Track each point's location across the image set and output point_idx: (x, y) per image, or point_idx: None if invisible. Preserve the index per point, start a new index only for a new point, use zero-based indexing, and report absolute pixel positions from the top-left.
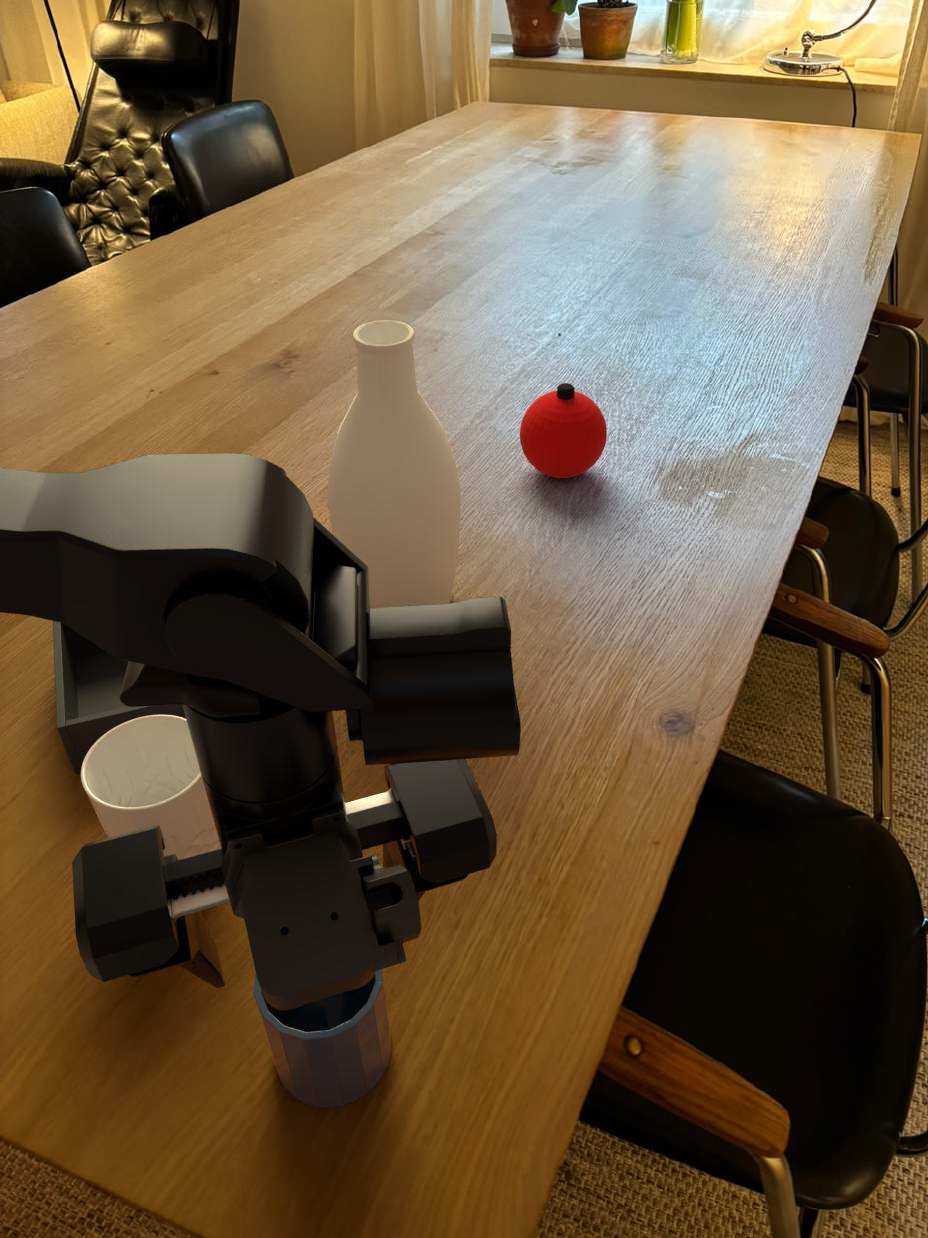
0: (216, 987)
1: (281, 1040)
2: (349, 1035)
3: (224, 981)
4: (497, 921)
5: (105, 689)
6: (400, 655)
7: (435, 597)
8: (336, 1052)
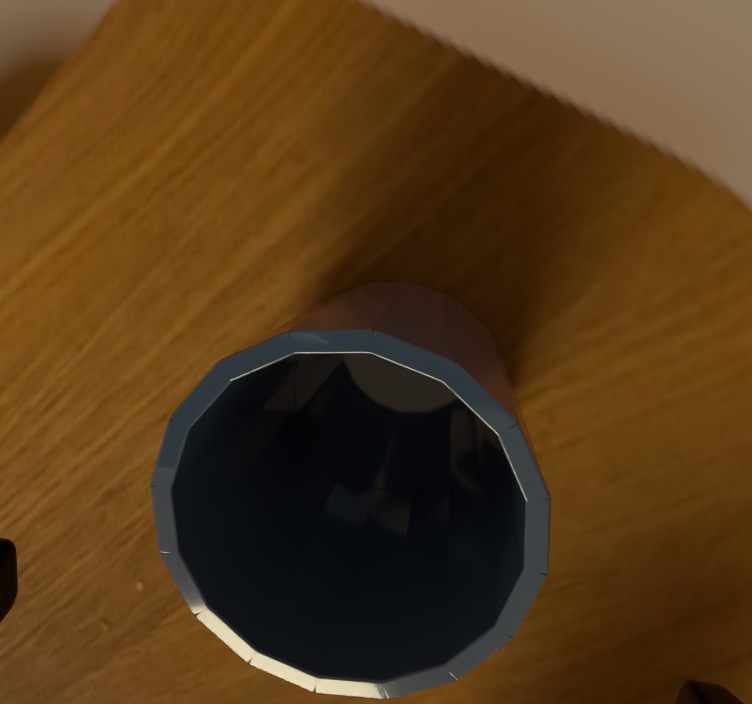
0: (732, 696)
1: (514, 406)
2: (323, 321)
3: (679, 696)
4: (41, 466)
5: None
6: None
7: None
8: (380, 312)
